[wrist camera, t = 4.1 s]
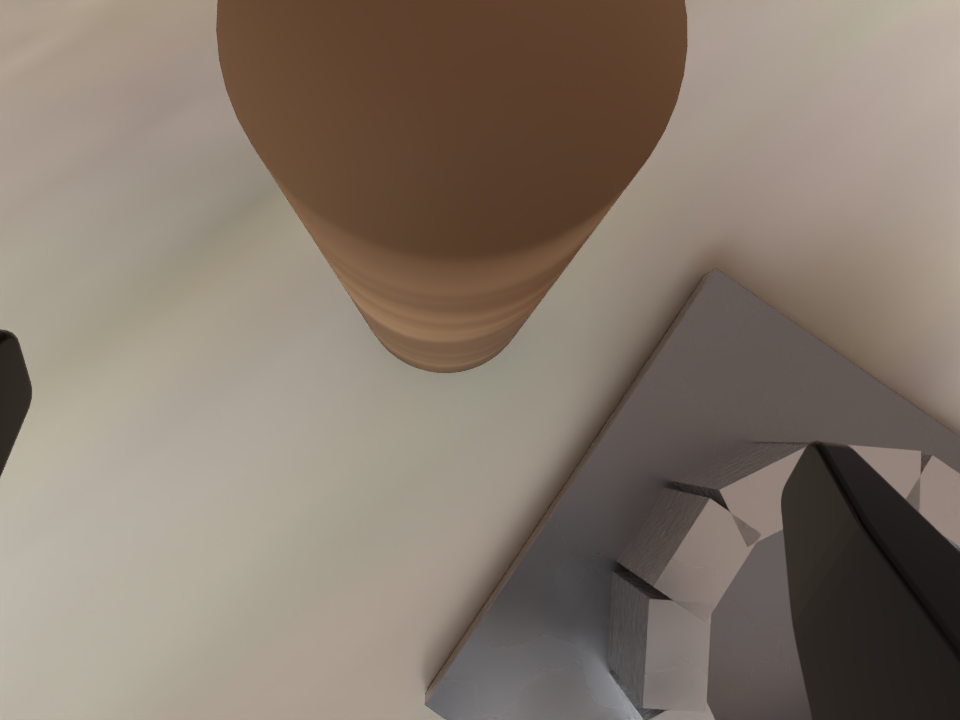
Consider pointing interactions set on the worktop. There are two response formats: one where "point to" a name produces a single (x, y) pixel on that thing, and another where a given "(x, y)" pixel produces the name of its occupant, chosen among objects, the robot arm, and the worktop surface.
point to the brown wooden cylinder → (451, 145)
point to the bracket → (688, 531)
